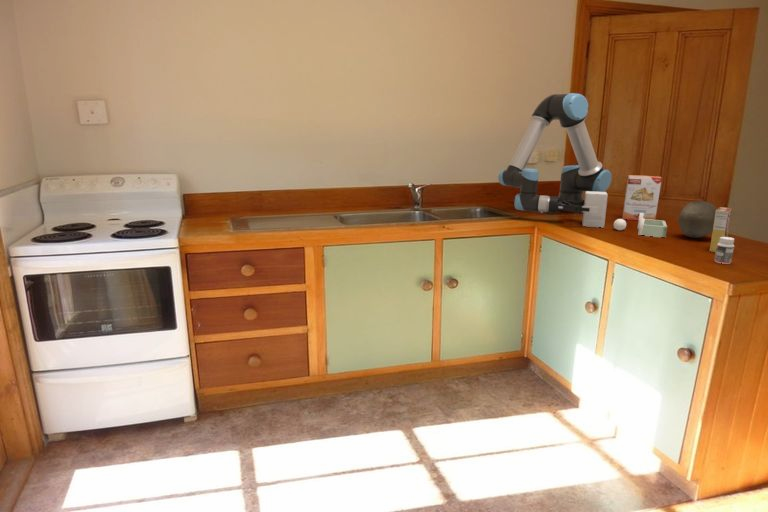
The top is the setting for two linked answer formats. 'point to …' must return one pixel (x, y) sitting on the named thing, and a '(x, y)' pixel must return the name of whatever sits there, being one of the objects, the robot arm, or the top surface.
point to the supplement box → (595, 201)
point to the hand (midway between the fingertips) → (598, 207)
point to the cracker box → (641, 197)
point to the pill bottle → (724, 250)
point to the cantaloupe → (697, 219)
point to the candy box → (720, 226)
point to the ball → (620, 224)
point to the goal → (651, 227)
